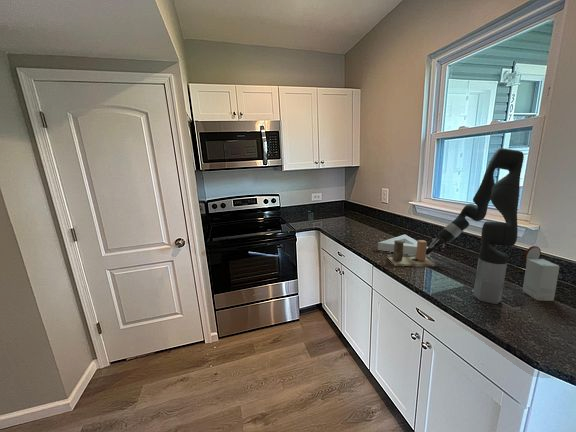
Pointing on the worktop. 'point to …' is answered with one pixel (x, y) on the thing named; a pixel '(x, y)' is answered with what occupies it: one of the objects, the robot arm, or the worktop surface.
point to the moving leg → (421, 249)
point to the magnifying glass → (532, 253)
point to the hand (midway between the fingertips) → (425, 253)
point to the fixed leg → (398, 250)
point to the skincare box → (540, 279)
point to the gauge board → (411, 261)
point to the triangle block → (408, 245)
